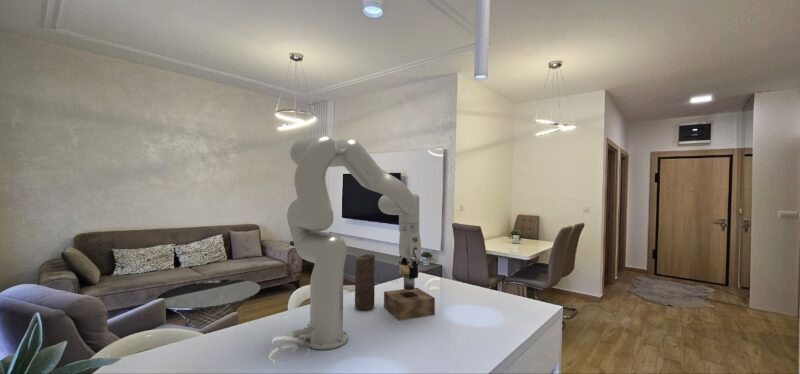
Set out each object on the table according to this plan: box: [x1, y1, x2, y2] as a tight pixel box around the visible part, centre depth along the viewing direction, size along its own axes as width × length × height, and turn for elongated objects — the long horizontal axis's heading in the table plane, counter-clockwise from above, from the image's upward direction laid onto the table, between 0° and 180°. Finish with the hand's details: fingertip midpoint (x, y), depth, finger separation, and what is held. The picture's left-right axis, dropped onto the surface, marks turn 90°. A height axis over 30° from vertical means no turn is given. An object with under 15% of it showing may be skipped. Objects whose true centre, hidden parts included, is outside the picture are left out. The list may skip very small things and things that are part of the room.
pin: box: [399, 262, 420, 290], centre depth 128 cm, size 7×7×8 cm
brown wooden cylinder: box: [354, 253, 376, 310], centre depth 130 cm, size 8×7×20 cm
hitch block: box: [383, 287, 436, 321], centre depth 128 cm, size 14×14×6 cm
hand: (409, 275), depth 128 cm, fingers closed on pin, 7 cm apart
